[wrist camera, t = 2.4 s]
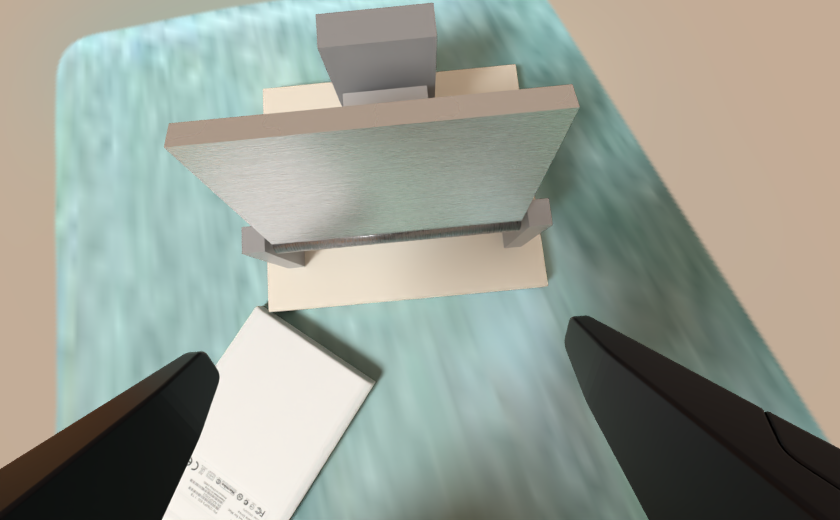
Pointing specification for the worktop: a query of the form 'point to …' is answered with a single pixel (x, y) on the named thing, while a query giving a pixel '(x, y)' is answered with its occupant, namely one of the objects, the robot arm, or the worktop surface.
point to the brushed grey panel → (381, 166)
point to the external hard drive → (268, 424)
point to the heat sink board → (402, 261)
